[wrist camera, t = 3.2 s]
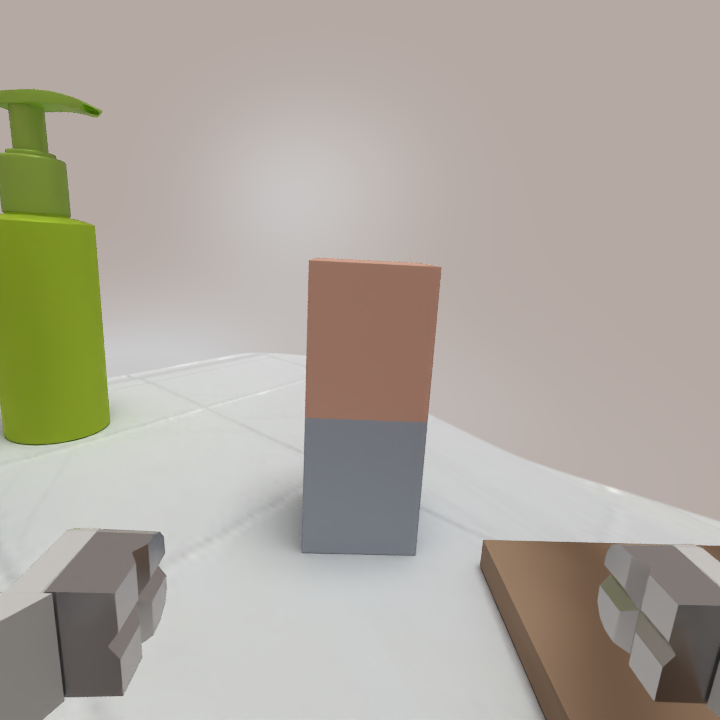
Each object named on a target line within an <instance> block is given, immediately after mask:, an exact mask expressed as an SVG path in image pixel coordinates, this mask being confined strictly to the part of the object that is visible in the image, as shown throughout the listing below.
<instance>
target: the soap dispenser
mask: <svg viewBox="0 0 720 720" xmlns="http://www.w3.org/2000/svg"><path fill="white" fill-rule="evenodd" d="M0 107H2V108H4V109H7V110H8V111H9V120H10V128H11V137H12V146H13V149H6V150H5V153H0V199H1V207H2V212H4V214H0V406H1V414H2V421H3V428H4V435H5V437H6V438H7V439H8V440H10V441H12V442H16V443H21V444H52V443H60V442H66V441H71V440H76V439H80V438H83V437H86V436H89V435H92V434H94V433H97V432H99V431H101V430H102V429H104V428H105V427H106V426H107V425H108V424H109V422H110V414H109V401H108V388H107V376H106V363H105V350H104V337H103V324H102V312H101V300H100V286H99V274H98V260H97V248H96V236H95V226H94V225H91V224H88V223H86V222H83V221H79V220H75V219H70V216H71V214H70V203H69V191H68V180H67V170H66V164H65V163H64V162H63V161H61V160H57V159H56V156H55V155H52V154H49V153H48V144H47V134H46V123H45V113H44V112H73V113H80V114H84V115H88V116H92V117H98V116H99V115H100V114H101V113H102V110H100V109H98V108H95V107H93V106H91V105H89V104H87V103H85V102H83V101H81V100H79V99H76V98H73V97H70V96H67V95H64V94H60V93H56V92H51V91H45V90H35V89H19V90H2V91H0Z"/></svg>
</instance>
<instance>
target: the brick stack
mask: <svg viewBox="0 0 720 720" xmlns="http://www.w3.org/2000/svg"><path fill="white" fill-rule="evenodd" d="M440 278H441V267H438V266H433V265H428V264H422V263H408V262H388V261H369V260H350V259H330V258H315V259H312V260H309V280H308V281H309V282H308V321H307V359H306V399H305V439H304V478H303V518H302V553H333V554H375V555H415V554H416V543H417V532H418V521H419V509H420V498H421V487H422V476H423V465H424V454H425V443H426V432H427V421H428V410H429V399H430V387H431V377H432V366H433V354H434V343H435V333H436V322H437V311H438V299H439V288H440Z"/></svg>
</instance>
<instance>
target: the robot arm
mask: <svg viewBox="0 0 720 720" xmlns="http://www.w3.org/2000/svg"><path fill="white" fill-rule="evenodd" d="M164 554H165V546H164V536H163V535H162V534H161V533H160V532H155V531H134V530H113V529H103V530H102V529H88V528H74V529H70V530H67V531H66V532H65V533H64V534H63V535H62V536H61V537H60V538H59V539H58V540H57V541H56V542H55V543H54V544H53V545H52V546H51V547H50V548H49V549H48V550H47V551H46V552H45V553H44V554H43V555H42V556H41V557H40V558H39V559H38V560H37V561H36V562H35V563H34V564H33V565H32V566H31V567H30V568H29V569H28V570H27V571H26V572H25V573H24V574H23V575H22V576H21V577H20V578H19V579H18V580H17V581H16V582H15V583H14V584H13V585H12V586H11V587H10V588H9V589H8V590H7V591H6V592H0V720H43V719H44V718H45V717H46V716H47V715H48V714H50V713H51V712H52V711H53V710H54V709H55V708H57V707H58V706H59V705H60V704H61V703H62V702H64V697H102V696H123V695H124V693H125V691H126V689H127V687H128V685H129V683H130V681H131V679H132V677H133V675H134V673H135V671H136V669H137V667H138V665H139V663H140V661H141V659H142V646H141V644H142V643H143V642H145V641H146V640H147V639H149V638H150V637H151V636H153V635H154V633H155V631H156V629H157V626H158V624H159V622H160V620H161V616H162V612H163V609H164V605H165V600H166V590H167V583H166V575H165V573H164V572H163V571H162V570H161V569H160V567H159V566H158V565H159V563H160V561H161V560H162V558H163V556H164ZM604 565H605V567H606V568H607V570H608V572H609V574H610V575H609V576H608V577H607V578H606V579H605V580H604V581H603V582H602V583H601V584H600V587H599V594H598V600H597V602H598V609H599V615H600V619H601V621H602V624H603V626H604V629H605V631H606V632H607V634H608V635H609V637H610V638H611V640H612V641H613V643H615V644H616V645H618V646H619V647H621V648H622V649H624V650H625V651H626V652H628V653H629V654H630V655H629V666H630V668H631V669H632V670H633V672H634V673H635V675H636V676H637V678H638V679H639V680H640V682H641V683H642V685H643V686H644V688H645V689H646V691H647V692H648V693H649V695H650V696H651V698H652V699H653V701H654V702H675V703H699V704H707V707H708V708H709V709H710V710H711V711H713V712H714V713H715V714H716V715H718V716H719V717H720V562H719V561H718V560H716V559H715V558H714V557H713V556H711V555H710V554H709V553H708V552H707V551H705V550H704V549H703V548H701V547H698V546H696V545H693V544H666V545H611V546H610V548H609V549H608V551H607V553H606V558H605V562H604Z"/></svg>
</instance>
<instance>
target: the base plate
mask: <svg viewBox="0 0 720 720" xmlns="http://www.w3.org/2000/svg"><path fill="white" fill-rule="evenodd" d="M611 545H662V544H623V543H583V542H544V541H504V540H483V546H482V554H481V562H480V567H481V569H482V571H483V574H484V576H485V578H486V581H487V583H488V585H489V588H490V590H491V592H492V595H493V597H494V599H495V602H496V604H497V606H498V609H499V611H500V613H501V616H502V618H503V620H504V623H505V625H506V627H507V630H508V632H509V634H510V636H511V639H512V641H513V643H514V646H515V648H516V650H517V653H518V655H519V657H520V660H521V662H522V664H523V667H524V669H525V671H526V674H527V676H528V678H529V681H530V683H531V685H532V688H533V690H534V692H535V695H536V697H537V699H538V702H539V704H540V706H541V709H542V711H543V713H544V716H545V718H546V720H720V717H719V716H718V715H716V714H715V713H714V712H713V711H711V710H710V709H709V708H708V707H707V704H699V703H675V702H654V701H653V699H652V698H651V696H650V695H649V693H648V692H647V691H646V689H645V688H644V686H643V685H642V683H641V682H640V680H639V679H638V678H637V676H636V675H635V673H634V672H633V670H632V669H631V668H630V666H629V655H630V654H629V653H628V652H626V651H625V650H624V649H622V648H621V647H619V646H618V645H616V644H615V643H613V641H612V640H611V638H610V637H609V635H608V634H607V632H606V631H605V629H604V626H603V624H602V621H601V619H600V615H599V609H598V602H597V600H598V594H599V587H600V584H601V583H602V582H603V581H604V580H605V579H606V578H607V577H608V576H609V575H610V574H609V572H608V570H607V568H606V567H605V565H604V562H605V558H606V553H607V551H608V549H609V548H610V546H611ZM696 546H698V547H701V548H703V549H704V550H705V551H707V552H708V553H709V554H710V555H711V556H713V557H714V558H715V559H716V560H718V561H719V562H720V546H702V545H696Z"/></svg>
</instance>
